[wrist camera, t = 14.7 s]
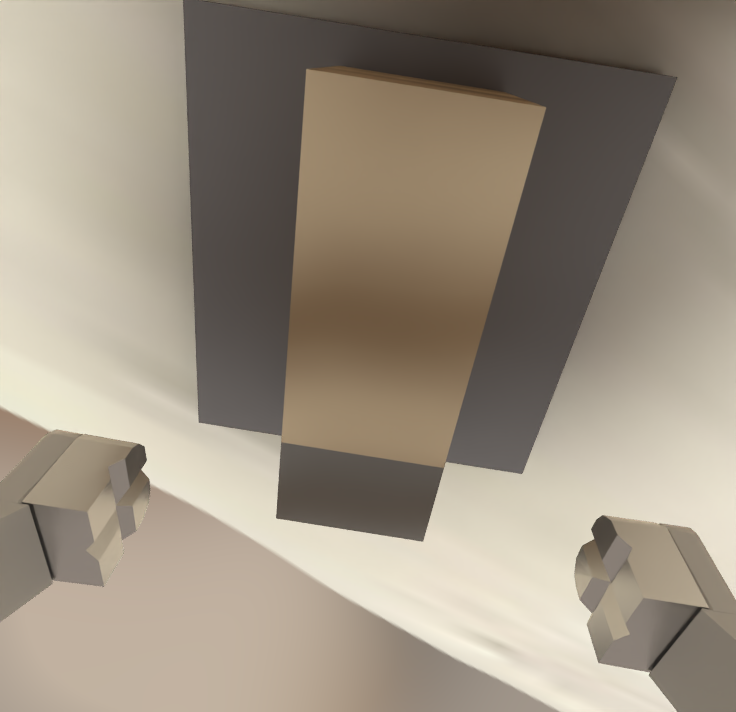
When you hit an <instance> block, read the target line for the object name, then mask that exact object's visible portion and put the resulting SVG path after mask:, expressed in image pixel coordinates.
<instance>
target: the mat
mask: <svg viewBox="0 0 736 712" xmlns="http://www.w3.org/2000/svg"><path fill="white" fill-rule="evenodd" d="M183 7H184V34H185V61H186V88H187V115H188V143H189V170H190V197H191V224H192V251H193V279H194V306H195V333H196V360H197V387H198V415H199V423H205V424H211V425H218V426H224V427H230V428H237V429H243V430H249V431H255V432H262V433H268V434H274V435H281V436H282V425H283V410H284V395H285V380H286V365H287V350H288V335H289V320H290V305H291V290H292V276H293V261H294V246H295V231H296V216H297V201H298V186H299V171H300V156H301V141H302V126H303V111H304V96H305V82H306V69H311V68H321V67H332V66H345V67H351V68H357V69H363V70H370V71H376V72H382V73H388V74H395V75H401V76H407V77H413V78H420V79H426V80H432V81H438V82H444V83H451V84H457V85H463V86H469V87H476V88H482V89H488V90H494V91H501V92H506V93H509V94H511V95H514V96H517V97H520V98H522V99H525V100H528V101H530V102H533V103H536V104H539V105H541V106H544V107H546V110H545V114H544V117H543V121H542V124H541V128H540V131H539V135H538V139H537V142H536V146H535V149H534V153H533V156H532V160H531V163H530V167H529V170H528V174H527V177H526V181H525V184H524V188H523V191H522V195H521V198H520V202H519V205H518V209H517V212H516V216H515V219H514V223H513V226H512V230H511V234H510V237H509V241H508V244H507V248H506V251H505V255H504V258H503V262H502V265H501V269H500V272H499V276H498V279H497V283H496V286H495V290H494V293H493V297H492V300H491V304H490V307H489V311H488V314H487V318H486V321H485V325H484V328H483V332H482V336H481V339H480V343H479V346H478V350H477V353H476V357H475V360H474V364H473V367H472V371H471V374H470V378H469V381H468V385H467V388H466V392H465V395H464V399H463V402H462V406H461V409H460V413H459V416H458V420H457V423H456V427H455V430H454V434H453V438H452V441H451V445H450V448H449V452H448V455H447V459H446V462H450V463H457V464H463V465H469V466H475V467H482V468H488V469H494V470H501V471H507V472H513V473H519V474H522V473H523V470H524V468H525V465H526V463H527V460H528V458H529V455H530V452H531V450H532V447H533V445H534V442H535V440H536V437H537V435H538V432H539V429H540V427H541V424H542V422H543V419H544V417H545V414H546V412H547V409H548V407H549V404H550V401H551V399H552V396H553V394H554V391H555V389H556V386H557V384H558V381H559V378H560V376H561V373H562V371H563V368H564V366H565V363H566V361H567V358H568V355H569V353H570V350H571V348H572V345H573V343H574V340H575V338H576V335H577V333H578V330H579V327H580V325H581V322H582V320H583V317H584V315H585V312H586V310H587V307H588V304H589V302H590V299H591V297H592V294H593V292H594V289H595V287H596V284H597V281H598V279H599V276H600V274H601V271H602V269H603V266H604V264H605V261H606V258H607V256H608V253H609V251H610V248H611V246H612V243H613V241H614V238H615V236H616V233H617V230H618V228H619V225H620V223H621V220H622V218H623V215H624V213H625V210H626V207H627V205H628V202H629V200H630V197H631V195H632V192H633V190H634V187H635V184H636V182H637V179H638V177H639V174H640V172H641V169H642V167H643V164H644V162H645V159H646V156H647V154H648V151H649V149H650V146H651V144H652V141H653V139H654V136H655V133H656V131H657V128H658V126H659V123H660V121H661V118H662V116H663V113H664V110H665V108H666V105H667V103H668V100H669V98H670V95H671V93H672V90H673V88H674V85H675V82H676V80H677V77H673V76H666V75H660V74H654V73H648V72H642V71H635V70H629V69H623V68H617V67H610V66H604V65H598V64H592V63H586V62H579V61H573V60H567V59H561V58H555V57H548V56H542V55H536V54H530V53H524V52H517V51H511V50H505V49H499V48H493V47H486V46H480V45H474V44H468V43H462V42H455V41H449V40H443V39H437V38H431V37H424V36H418V35H412V34H406V33H400V32H393V31H387V30H381V29H375V28H369V27H362V26H356V25H350V24H344V23H337V22H331V21H325V20H319V19H313V18H306V17H300V16H294V15H288V14H282V13H275V12H269V11H263V10H257V9H251V8H244V7H238V6H232V5H226V4H220V3H213V2H207V1H201V0H183Z"/></svg>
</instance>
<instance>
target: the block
mask: <svg viewBox="0 0 736 712" xmlns="http://www.w3.org/2000/svg"><path fill="white" fill-rule="evenodd" d="M545 110H546V107H544V106H541V105H539V104H536V103H533V102H530V101H528V100H525V99H522V98H520V97H517V96H514V95H511V94H509V93H506V92H501V91H494V90H488V89H482V88H476V87H469V86H463V85H457V84H451V83H444V82H438V81H432V80H426V79H420V78H413V77H407V76H401V75H395V74H388V73H382V72H376V71H370V70H363V69H357V68H351V67H345V66H332V67H321V68H311V69H306V82H305V96H304V111H303V126H302V141H301V156H300V171H299V186H298V201H297V216H296V231H295V246H294V261H293V276H292V290H291V305H290V320H289V335H288V350H287V365H286V380H285V395H284V410H283V425H282V440H281V455H280V469H279V484H278V499H277V514H276V518H277V519H284V520H290V521H296V522H303V523H309V524H315V525H322V526H328V527H334V528H341V529H347V530H353V531H360V532H366V533H372V534H379V535H385V536H391V537H398V538H404V539H410V540H416V541H423V540H424V536H425V532H426V529H427V525H428V522H429V518H430V515H431V511H432V508H433V504H434V501H435V497H436V494H437V490H438V487H439V483H440V480H441V476H442V473H443V469H444V466H445V462H446V459H447V455H448V452H449V448H450V445H451V441H452V438H453V434H454V430H455V427H456V423H457V420H458V416H459V413H460V409H461V406H462V402H463V399H464V395H465V392H466V388H467V385H468V381H469V378H470V374H471V371H472V367H473V364H474V360H475V357H476V353H477V350H478V346H479V343H480V339H481V336H482V332H483V328H484V325H485V321H486V318H487V314H488V311H489V307H490V304H491V300H492V297H493V293H494V290H495V286H496V283H497V279H498V276H499V272H500V269H501V265H502V262H503V258H504V255H505V251H506V248H507V244H508V241H509V237H510V234H511V230H512V226H513V223H514V219H515V216H516V212H517V209H518V205H519V202H520V198H521V195H522V191H523V188H524V184H525V181H526V177H527V174H528V170H529V167H530V163H531V160H532V156H533V153H534V149H535V146H536V142H537V139H538V135H539V131H540V128H541V124H542V121H543V117H544V114H545Z"/></svg>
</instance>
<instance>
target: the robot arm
mask: <svg viewBox="0 0 736 712" xmlns="http://www.w3.org/2000/svg"><path fill="white" fill-rule="evenodd" d="M146 461H147V459H146V453H145V448H144V446H142V445H140V444H137V443H132V442H126V441H121V440H115V439H110V438H104V437H99V436H93V435H87V434H79V433H73V432H68V431H62V430H54V431H52V432H50V433H48V434H46V435H45V436H44V437H43V438H42V439H41V440H40V441H39V442H38V444H37V445H36V446H35V447H34V448H33V449H32V450H31V451H30V452H29V453H28V454H27V455H26V456H25V457H24V458H23V459H22V461H20V462H19V463H18V465H17V466H16V467H15V468H14V469H13V470H12V471H11V472H10V473H9V474H8V475H7V476H6V477H5V478H4V479H3V480H2V481H1V482H0V622H1V621H2V620H4V619H5V618H6V617H8V616H9V615H10V614H12V613H13V612H15V611H16V610H17V609H19V608H20V607H21V606H23V605H24V604H26V603H27V602H28V601H30V600H31V599H32V598H34V597H35V596H36V595H38V594H39V593H40V592H42V591H43V590H44V589H46V588H47V587H48V586H50V585H51V584H52V583H53V581H52V580H55V581H63V582H71V583H79V584H87V585H95V586H103V587H104V586H105V584H106V583H107V581H108V579H109V578H110V576H111V574H112V573H113V571H114V569H115V567H116V566H117V564H118V562H119V560H120V559H121V557H122V555H123V554H124V550H123V543H122V540H123V539H124V538H126V537H128V536H129V535H131V534H132V533H134V532H135V531H137V529H138V527H139V525H140V523H141V522H142V520H143V518H144V515H145V512H146V509H147V506H148V503H149V496H150V482H149V478H148V477H147V476H146V475H145V474H144V473H143V472H142V470H141V469H142V467H143V466H144V464H145V462H146ZM591 530H592V533H593V536H594V540H592V541H590V542H588V543H586V544H584V545H583V546H582V547H581V549H580V551H579V554H578V556H577V558H576V564H575V573H574V574H575V583H576V589H577V592H578V596H579V599H580V601H581V602H582V603H583V604H584V605H585V606H586V607H587V608H588V609H589V610H590V611H591V613H592V614H591V616H590V618H589V620H588V622H587V626H588V630H589V633H590V636H591V640H592V643H593V646H594V650H595V653H596V656H597V660H598V663H602V664H607V665H613V666H618V667H623V668H629V669H634V670H640V671H645V672H650V674H649V676H650V677H651V679H652V680H653V681H654V682H655V684H656V685H657V686H658V687H659V689H660V690H661V691H662V693H663V694H664V695H665V696H666V698H667V699H668V700H669V702H670V703H671V704H672V705H673V707H674V708H675V709H676V710H677V712H736V600H735V598H734V596H733V595H732V593H731V591H730V589H729V588H728V586H727V584H726V583H725V581H724V579H723V577H722V576H721V574H720V572H719V571H718V569H717V567H716V565H715V564H714V562H713V560H712V558H711V557H710V555H709V553H708V552H707V550H706V548H705V546H704V545H703V543H702V541H701V540H700V538H699V536H698V535H697V533H696V532H694V531H693V530H692V529H691V528H688V527H681V526H675V525H668V524H657V523H654V522H647V521H640V520H633V519H626V518H619V517H612V516H605V515H603V516H601V517H600V518H598V519H597V520H596V522H595V523H594V525H593V527H592V529H591Z"/></svg>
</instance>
